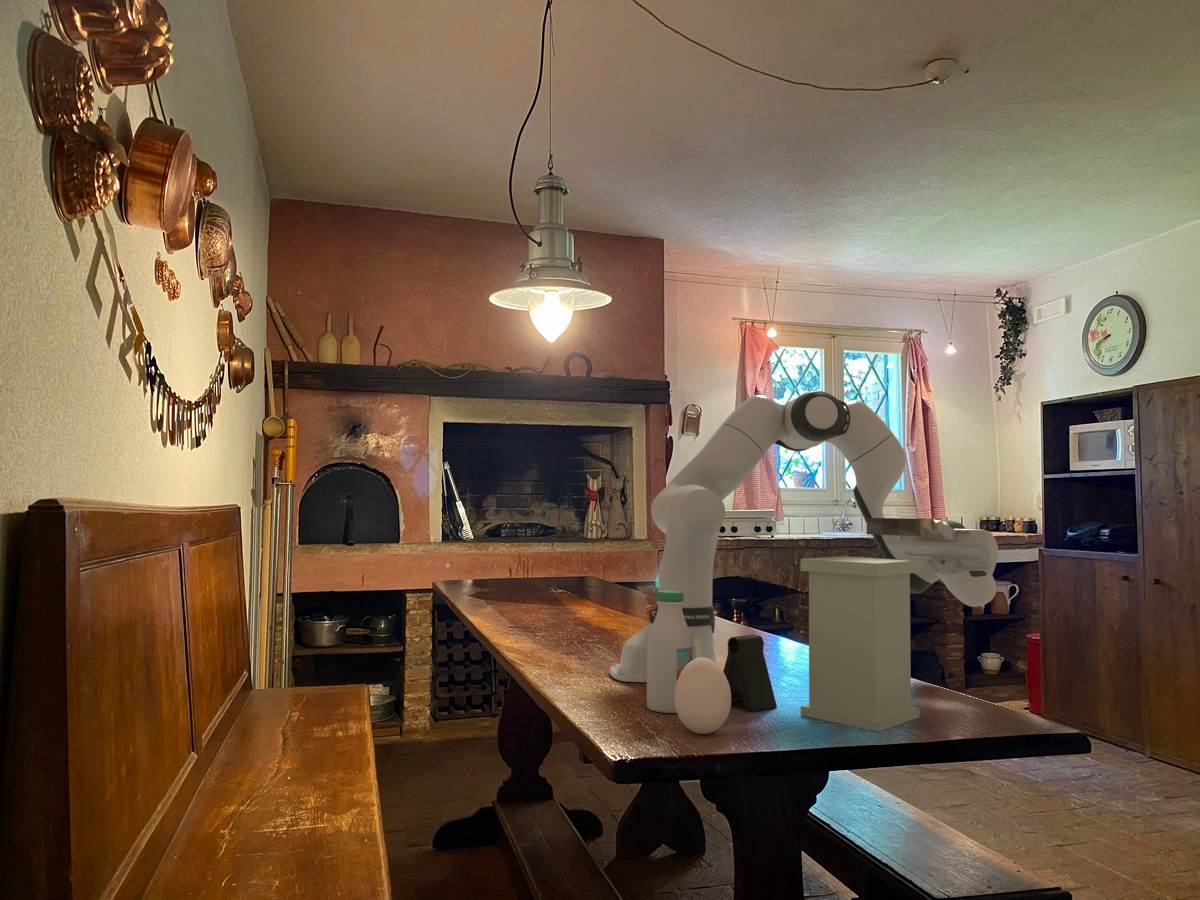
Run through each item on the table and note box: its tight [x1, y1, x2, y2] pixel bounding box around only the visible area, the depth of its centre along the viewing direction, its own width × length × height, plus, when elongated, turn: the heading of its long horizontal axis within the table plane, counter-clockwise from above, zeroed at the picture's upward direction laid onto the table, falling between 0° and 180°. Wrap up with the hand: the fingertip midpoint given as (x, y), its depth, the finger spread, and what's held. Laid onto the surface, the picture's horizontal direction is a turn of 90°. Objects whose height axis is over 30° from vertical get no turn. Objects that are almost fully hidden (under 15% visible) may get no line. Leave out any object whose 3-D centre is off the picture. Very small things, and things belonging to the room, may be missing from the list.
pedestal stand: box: [800, 555, 921, 733], centre depth 145 cm, size 14×14×26 cm
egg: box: [674, 657, 732, 735], centre depth 132 cm, size 9×9×11 cm
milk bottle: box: [646, 590, 692, 714], centre depth 148 cm, size 8×8×20 cm
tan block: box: [866, 517, 943, 536], centre depth 160 cm, size 18×9×3 cm, turn 135°
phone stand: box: [722, 634, 778, 713], centre depth 151 cm, size 9×6×12 cm, turn 36°
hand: (924, 523), depth 163 cm, fingers closed on tan block, 3 cm apart
